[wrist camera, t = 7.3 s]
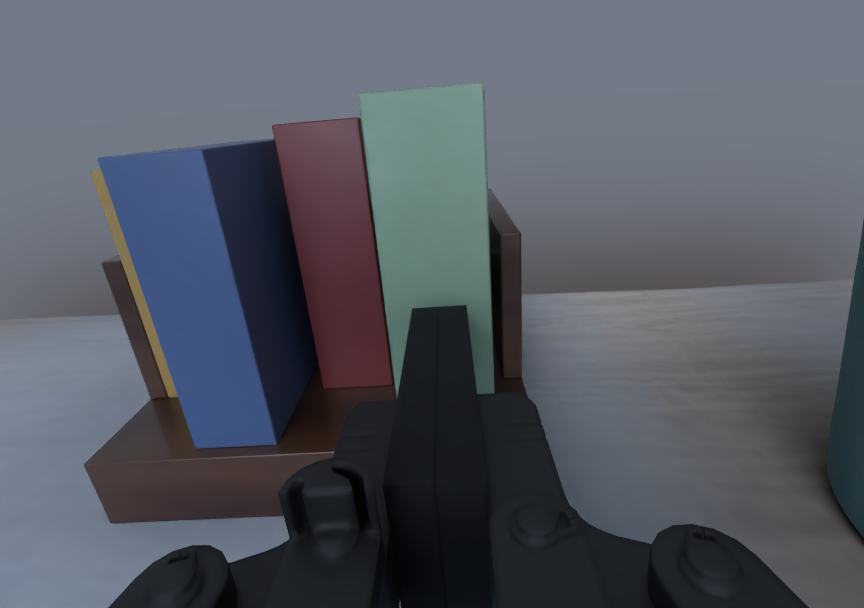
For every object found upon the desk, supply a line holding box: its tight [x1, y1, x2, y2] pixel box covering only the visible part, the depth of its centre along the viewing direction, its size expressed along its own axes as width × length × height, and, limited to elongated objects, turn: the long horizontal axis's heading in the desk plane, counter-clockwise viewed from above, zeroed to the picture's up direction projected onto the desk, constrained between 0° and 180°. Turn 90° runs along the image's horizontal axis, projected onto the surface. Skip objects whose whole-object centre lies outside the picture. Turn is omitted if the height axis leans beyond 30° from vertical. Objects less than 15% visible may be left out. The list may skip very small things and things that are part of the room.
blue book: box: [98, 139, 318, 449], centre depth 19 cm, size 9×3×10 cm, turn 179°
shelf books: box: [91, 118, 394, 398], centre depth 22 cm, size 9×10×10 cm
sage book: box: [358, 83, 494, 398], centre depth 18 cm, size 9×3×11 cm, turn 179°
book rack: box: [84, 189, 528, 523], centre depth 22 cm, size 15×16×9 cm
